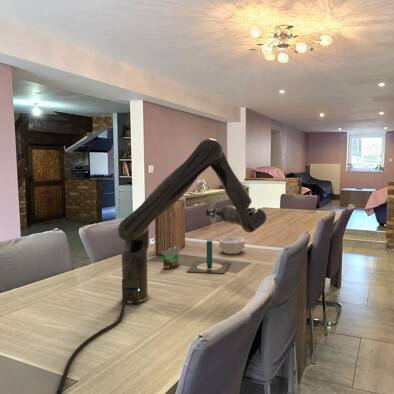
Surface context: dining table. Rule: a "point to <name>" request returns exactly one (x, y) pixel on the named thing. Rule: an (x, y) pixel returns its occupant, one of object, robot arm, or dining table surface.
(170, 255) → the potted plant
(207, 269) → the square plate with hole
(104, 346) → the dining table surface
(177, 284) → the dining table surface
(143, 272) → the robot arm
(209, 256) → the marker
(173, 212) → the brown wooden block
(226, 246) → the paper bowls
